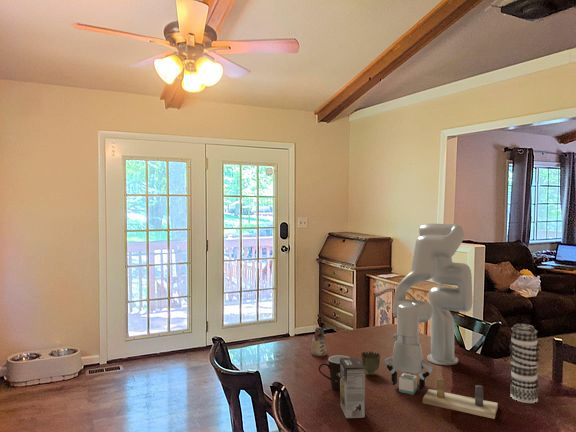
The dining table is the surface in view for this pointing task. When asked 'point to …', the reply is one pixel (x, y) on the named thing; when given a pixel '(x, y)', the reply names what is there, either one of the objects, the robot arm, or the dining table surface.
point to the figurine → (319, 343)
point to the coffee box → (352, 387)
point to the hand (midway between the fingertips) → (408, 386)
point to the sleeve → (407, 383)
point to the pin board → (461, 401)
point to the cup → (370, 362)
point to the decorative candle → (524, 363)
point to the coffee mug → (334, 370)
